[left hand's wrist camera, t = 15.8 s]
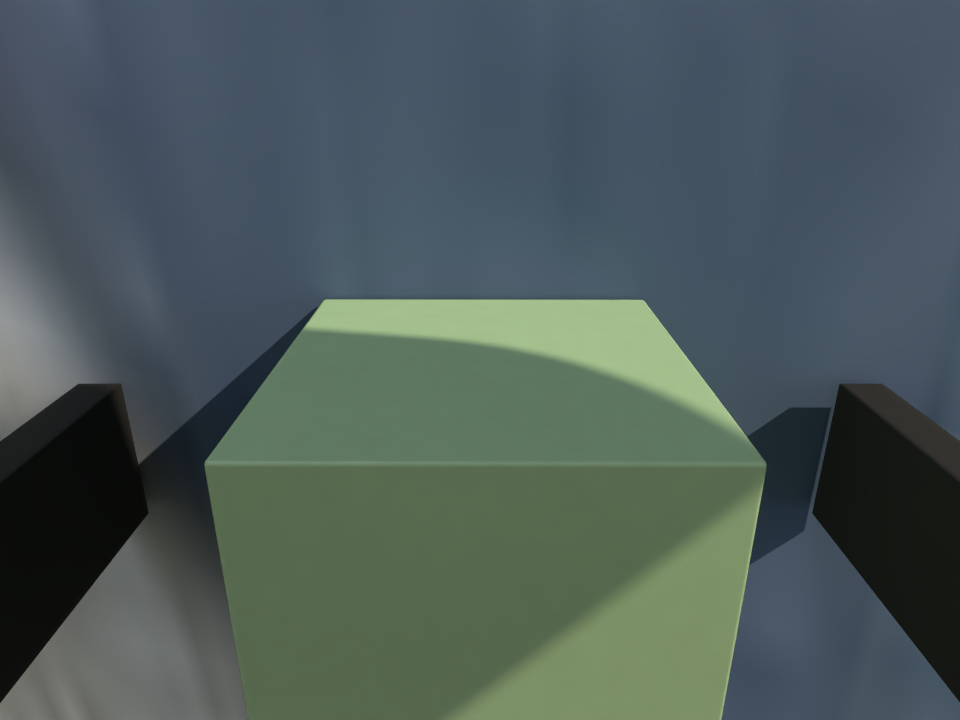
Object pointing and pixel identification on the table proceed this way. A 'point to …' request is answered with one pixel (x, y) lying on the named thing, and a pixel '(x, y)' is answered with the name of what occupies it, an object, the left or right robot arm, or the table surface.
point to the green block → (484, 518)
